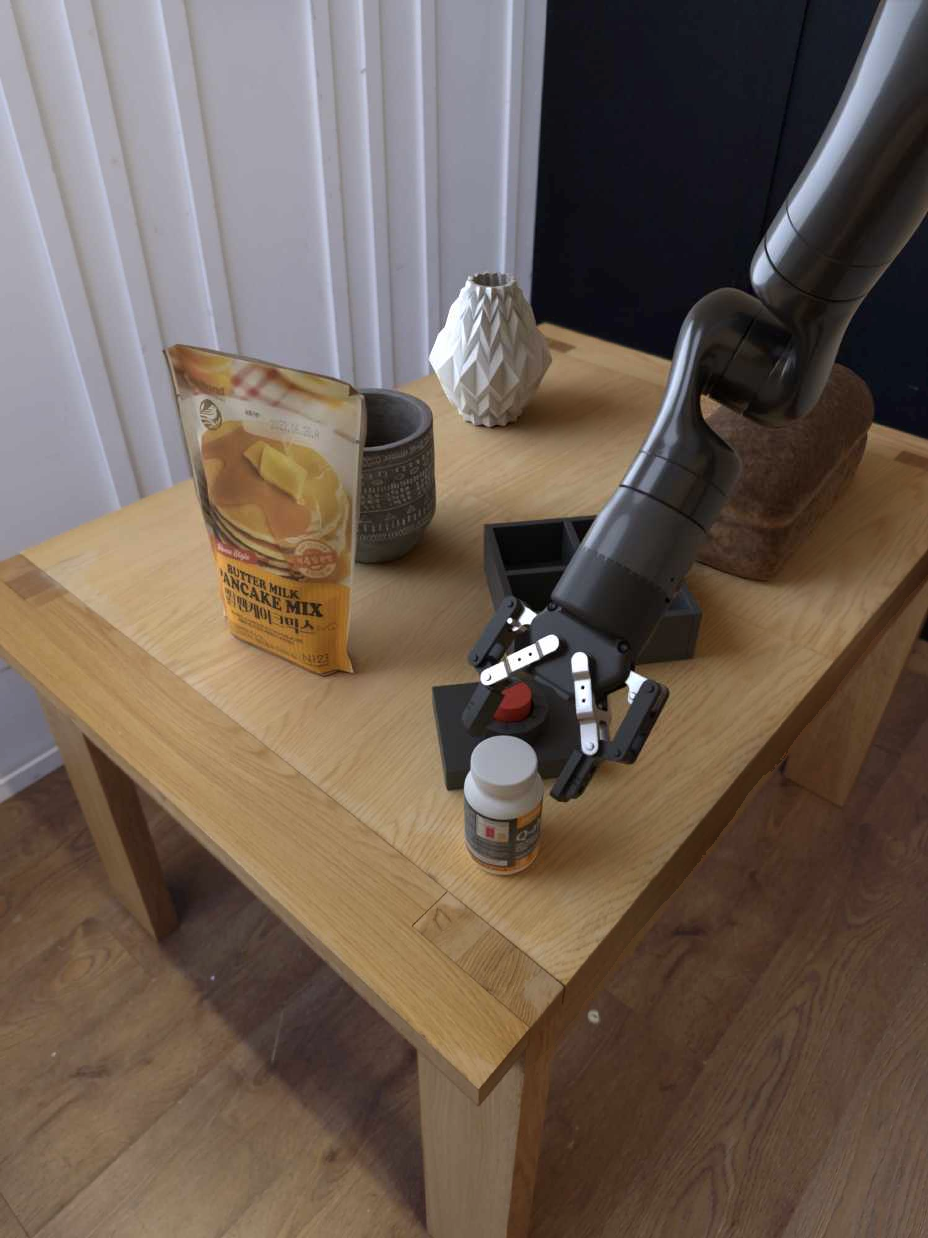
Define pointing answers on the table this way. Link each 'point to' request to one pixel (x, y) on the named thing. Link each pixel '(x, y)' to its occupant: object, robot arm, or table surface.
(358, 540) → the planter
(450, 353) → the vase
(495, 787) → the pill bottle
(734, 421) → the bread
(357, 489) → the pancake mix bag
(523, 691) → the button
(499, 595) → the black divided tray
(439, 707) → the block
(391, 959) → the table surface
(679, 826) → the table surface
